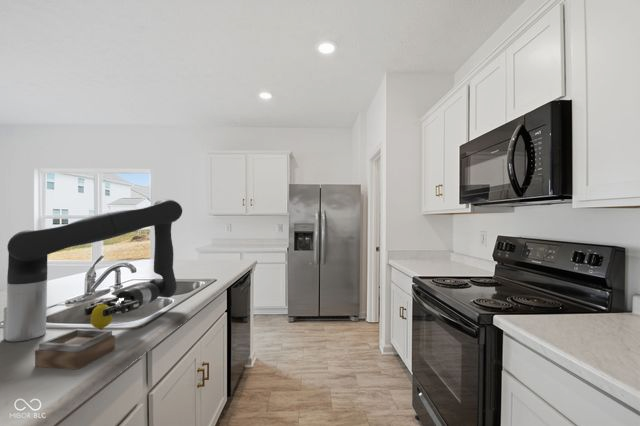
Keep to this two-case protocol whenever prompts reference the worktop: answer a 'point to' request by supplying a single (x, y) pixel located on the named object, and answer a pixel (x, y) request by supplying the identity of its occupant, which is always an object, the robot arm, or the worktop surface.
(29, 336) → the robot arm
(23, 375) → the worktop surface
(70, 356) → the square wooden box
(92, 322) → the lemon
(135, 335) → the worktop surface
